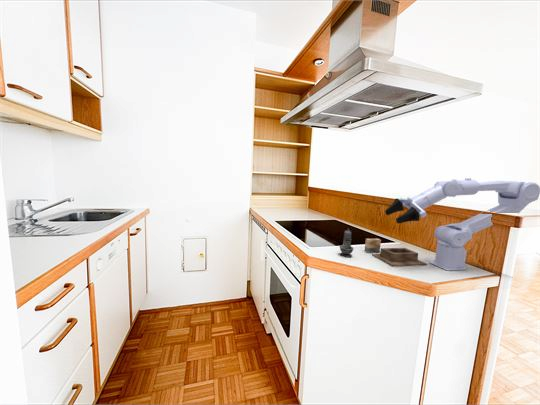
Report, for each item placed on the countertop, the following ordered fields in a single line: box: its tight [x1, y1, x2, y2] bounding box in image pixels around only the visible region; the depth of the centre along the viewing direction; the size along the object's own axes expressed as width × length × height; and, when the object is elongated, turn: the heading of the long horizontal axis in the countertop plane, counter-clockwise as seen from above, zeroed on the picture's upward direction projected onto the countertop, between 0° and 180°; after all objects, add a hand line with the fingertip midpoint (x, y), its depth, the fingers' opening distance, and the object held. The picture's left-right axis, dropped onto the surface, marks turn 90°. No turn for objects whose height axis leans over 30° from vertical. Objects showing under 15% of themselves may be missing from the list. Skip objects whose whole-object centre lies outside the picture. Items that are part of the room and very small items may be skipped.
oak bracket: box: [364, 238, 382, 254], centre depth 102 cm, size 6×2×6 cm, turn 102°
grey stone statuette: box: [338, 228, 355, 259], centre depth 95 cm, size 6×6×12 cm
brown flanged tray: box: [371, 247, 427, 268], centre depth 93 cm, size 16×12×4 cm
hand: (391, 217), depth 88 cm, fingers open, 7 cm apart
